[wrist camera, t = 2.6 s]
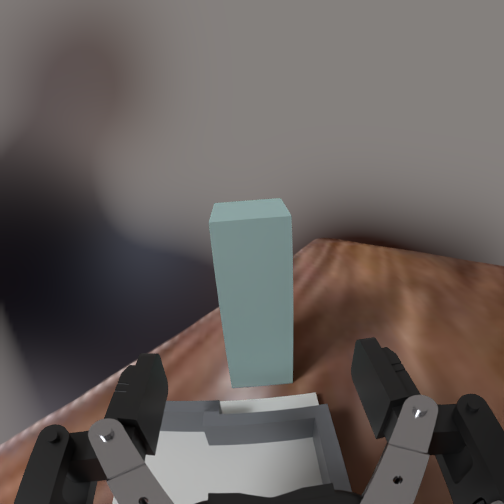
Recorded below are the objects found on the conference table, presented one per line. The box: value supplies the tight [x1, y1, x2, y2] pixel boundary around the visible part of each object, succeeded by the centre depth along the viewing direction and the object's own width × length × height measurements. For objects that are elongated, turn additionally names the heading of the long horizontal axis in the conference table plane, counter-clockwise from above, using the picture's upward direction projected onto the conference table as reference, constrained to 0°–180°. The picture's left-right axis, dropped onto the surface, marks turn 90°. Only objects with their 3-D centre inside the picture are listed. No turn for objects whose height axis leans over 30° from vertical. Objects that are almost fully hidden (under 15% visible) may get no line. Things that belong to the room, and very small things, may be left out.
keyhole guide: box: [112, 393, 352, 504], centre depth 15 cm, size 14×15×3 cm
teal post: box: [209, 198, 293, 388], centre depth 24 cm, size 5×5×14 cm
